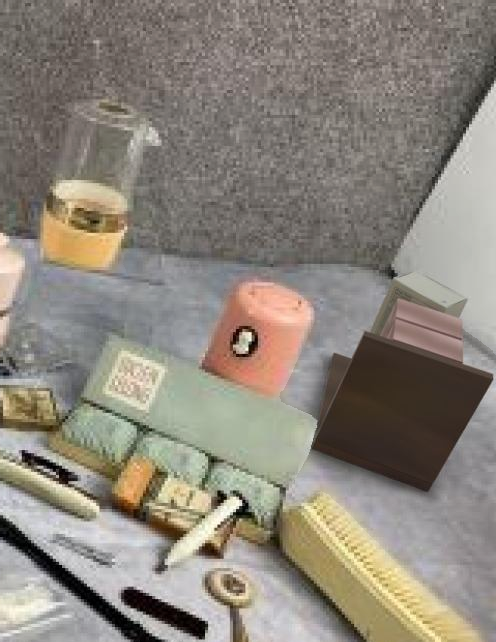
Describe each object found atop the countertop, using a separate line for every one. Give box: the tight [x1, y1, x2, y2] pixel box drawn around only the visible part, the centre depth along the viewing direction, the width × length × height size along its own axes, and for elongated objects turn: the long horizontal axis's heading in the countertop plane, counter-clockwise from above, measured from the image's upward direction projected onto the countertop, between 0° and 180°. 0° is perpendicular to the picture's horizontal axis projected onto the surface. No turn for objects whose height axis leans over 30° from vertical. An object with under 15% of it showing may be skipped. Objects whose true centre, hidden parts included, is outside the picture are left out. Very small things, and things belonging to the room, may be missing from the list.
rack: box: [311, 298, 494, 492], centre depth 91 cm, size 18×11×13 cm, turn 158°
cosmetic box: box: [369, 270, 469, 336], centre depth 95 cm, size 6×4×12 cm
